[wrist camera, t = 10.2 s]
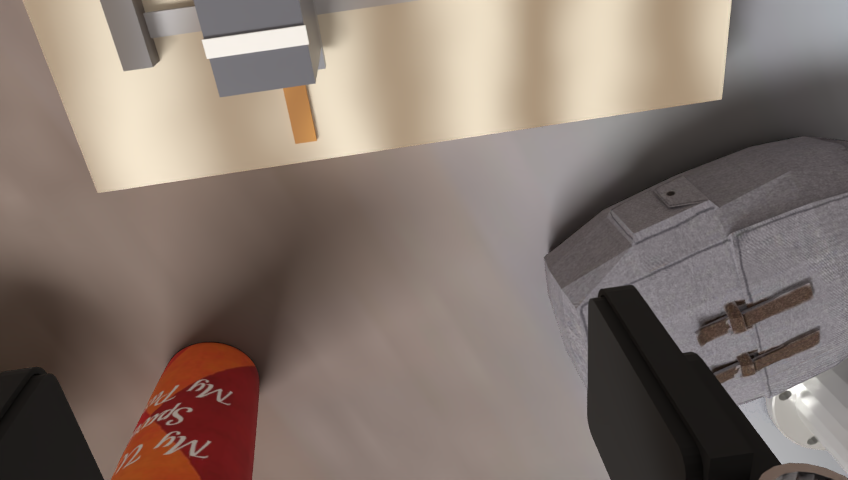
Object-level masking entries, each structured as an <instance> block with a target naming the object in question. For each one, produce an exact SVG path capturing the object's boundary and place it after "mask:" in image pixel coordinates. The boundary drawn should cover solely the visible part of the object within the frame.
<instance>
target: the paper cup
mask: <svg viewBox="0 0 848 480" xmlns="http://www.w3.org/2000/svg"><path fill="white" fill-rule="evenodd" d="M258 401H259V375H258V371H257V368H256V366H255V364H254V363H253V361H252V360H251V359H250V358H249V357H248V356H247V355H246V354H245V353H243V352H242V351H240V350H238V349H237V348H235V347H232V346H229V345H226V344H222V343H216V342H204V343H197V344H194V345H190V346H188V347H186V348H184V349H182V350H181V351H179V352H178V353H177V354H176V355H175V356H174V357H173V358H172V359H171V360H170V362H169V363H168V365H167V367H166V368H165V370H164V372H163V374H162V376H161V378H160V380H159V382H158V384H157V386H156V388H155V390H154V392H153V394H152V396H151V398H150V400H149V402H148V404H147V406H146V408H145V410H144V412H143V414H142V416H141V418H140V420H139V422H138V424H137V426H136V428H135V430H134V432H133V434H132V436H131V438H130V440H129V443H128V445H127V447H126V449H125V451H124V453H123V455H122V457H121V459H120V461H119V463H118V465H117V467H116V469H115V472H114V474H113V476H112V478H111V480H252V473H253V462H254V450H255V438H256V427H257V414H258Z"/></svg>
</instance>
